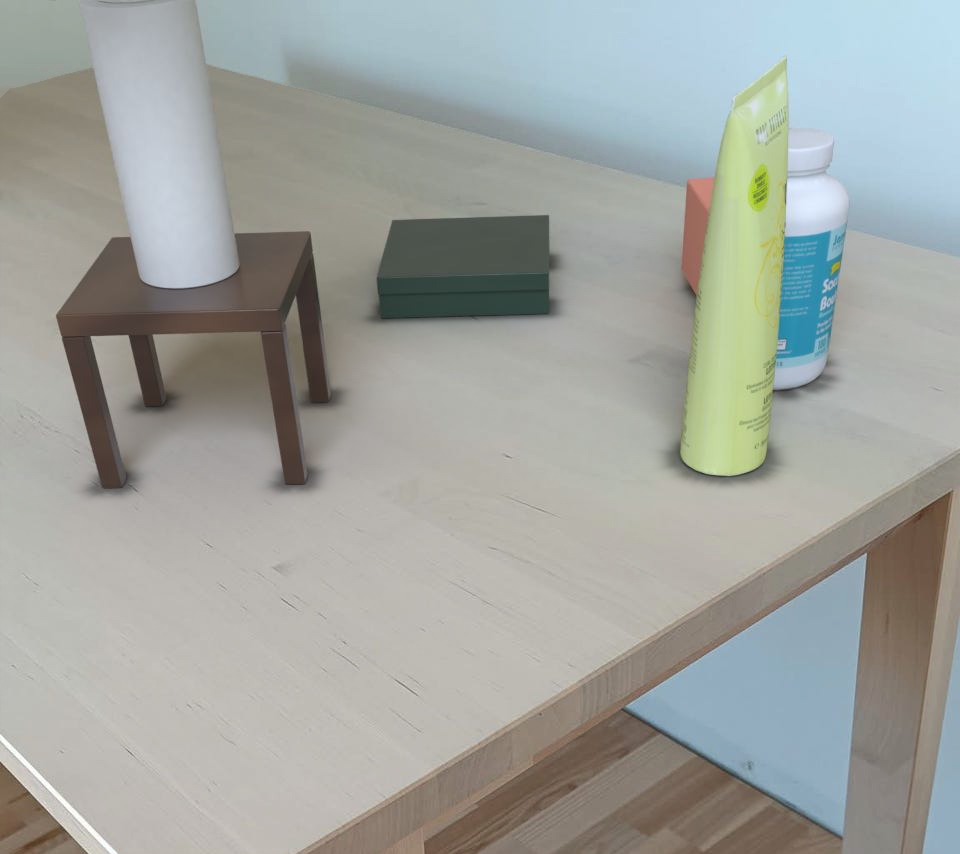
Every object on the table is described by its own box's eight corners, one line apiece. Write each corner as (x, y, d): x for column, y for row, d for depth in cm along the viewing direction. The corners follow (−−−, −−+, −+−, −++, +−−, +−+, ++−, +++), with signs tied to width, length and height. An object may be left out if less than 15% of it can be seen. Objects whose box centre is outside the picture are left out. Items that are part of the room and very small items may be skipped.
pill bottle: (836, 393, 79) (873, 153, 70) (716, 398, 79) (737, 160, 70) (812, 344, 84) (844, 116, 75) (700, 349, 85) (718, 122, 75)
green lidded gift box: (380, 320, 91) (376, 277, 88) (395, 260, 99) (392, 219, 97) (548, 316, 90) (548, 272, 88) (549, 256, 98) (549, 214, 96)
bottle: (128, 290, 69) (46, -68, 58) (152, 254, 73) (79, -88, 62) (229, 287, 69) (166, -74, 58) (247, 251, 73) (192, -93, 62)
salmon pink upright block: (710, 337, 86) (720, 206, 80) (674, 273, 95) (682, 151, 89) (823, 328, 86) (842, 197, 81) (778, 265, 95) (792, 143, 89)
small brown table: (101, 488, 74) (54, 315, 67) (149, 398, 83) (111, 236, 76) (305, 484, 73) (278, 308, 67) (331, 394, 82) (310, 230, 75)
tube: (784, 476, 72) (837, 81, 58) (699, 489, 71) (732, 93, 57) (746, 432, 76) (787, 54, 62) (665, 445, 75) (689, 65, 61)
